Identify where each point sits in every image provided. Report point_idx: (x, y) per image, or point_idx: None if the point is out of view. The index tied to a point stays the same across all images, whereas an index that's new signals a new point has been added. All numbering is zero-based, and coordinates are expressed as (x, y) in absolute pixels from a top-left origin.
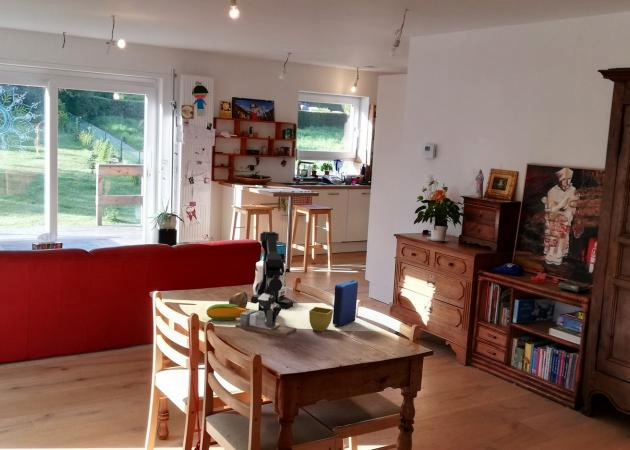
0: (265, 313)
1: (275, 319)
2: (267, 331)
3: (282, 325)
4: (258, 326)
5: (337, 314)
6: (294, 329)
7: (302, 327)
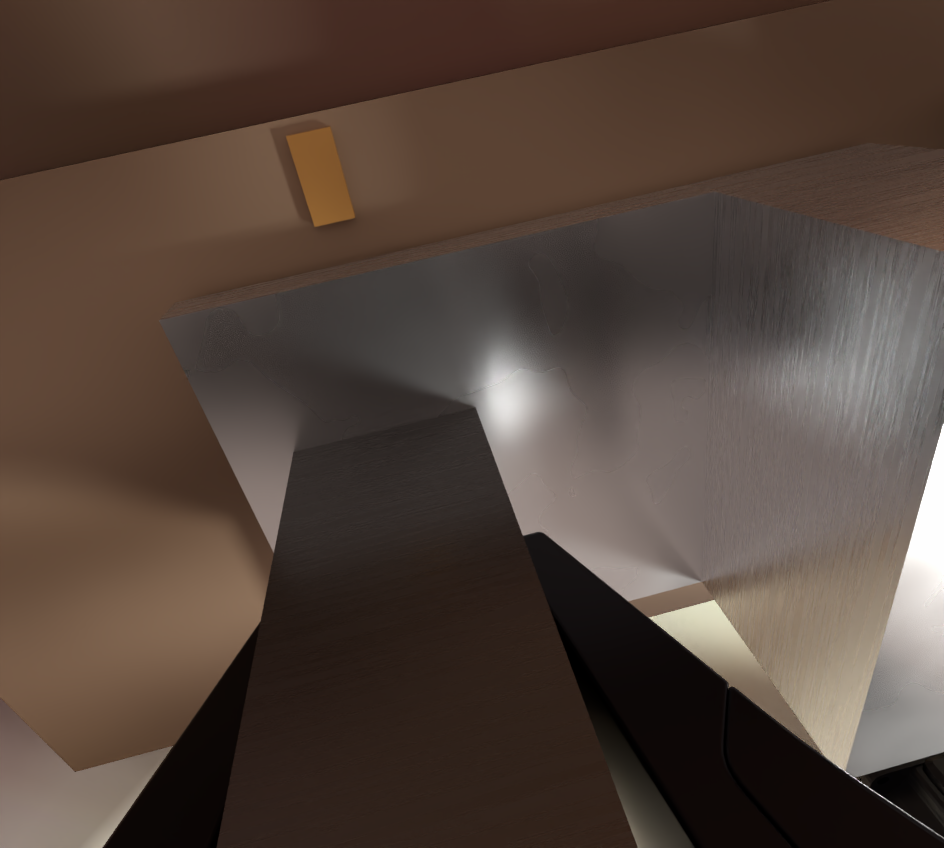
0: (673, 691)
1: None
2: (157, 156)
3: None
4: (596, 215)
5: None
6: (51, 730)
7: None
